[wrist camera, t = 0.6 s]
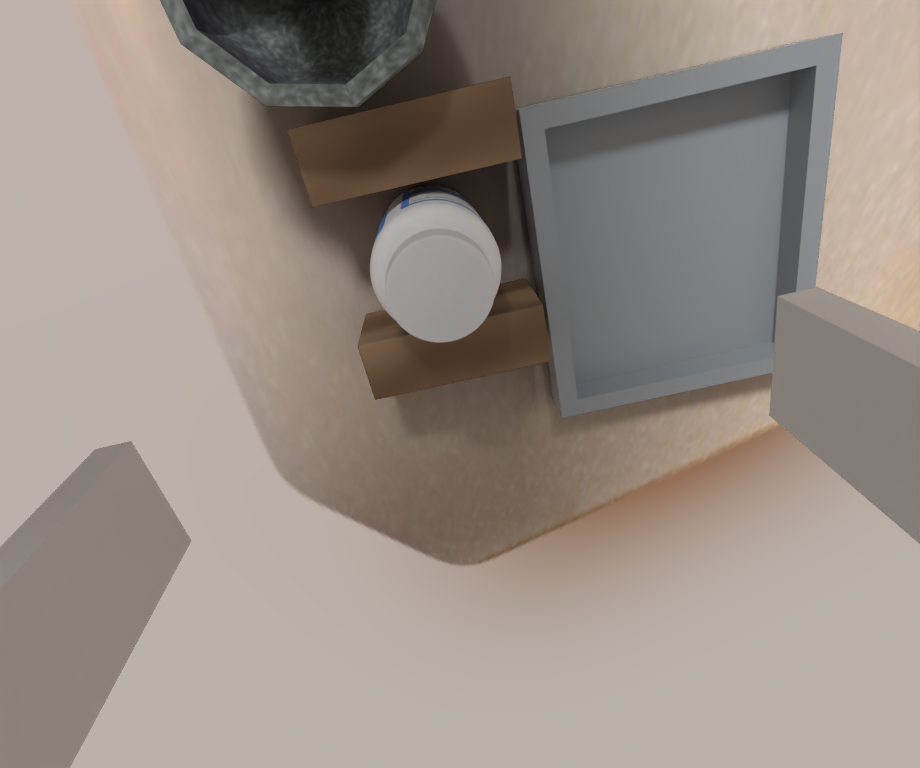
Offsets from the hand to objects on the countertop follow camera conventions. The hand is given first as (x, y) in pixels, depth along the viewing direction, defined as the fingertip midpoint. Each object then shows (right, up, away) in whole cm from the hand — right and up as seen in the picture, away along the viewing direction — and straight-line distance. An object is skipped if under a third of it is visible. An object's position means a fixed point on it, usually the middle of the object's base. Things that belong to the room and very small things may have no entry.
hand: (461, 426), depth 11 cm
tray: (+11, +9, +18) cm, 22 cm away
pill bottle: (-1, +9, +17) cm, 19 cm away
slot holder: (-1, +9, +17) cm, 19 cm away
